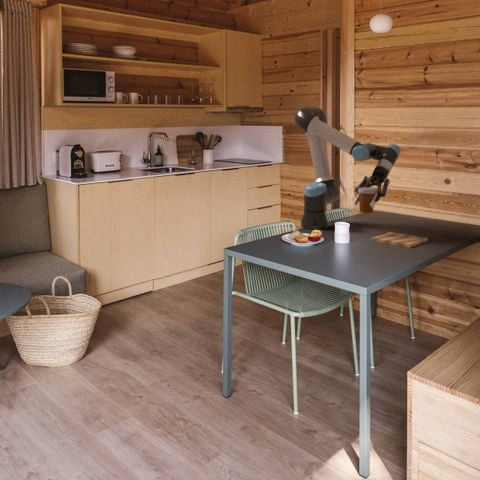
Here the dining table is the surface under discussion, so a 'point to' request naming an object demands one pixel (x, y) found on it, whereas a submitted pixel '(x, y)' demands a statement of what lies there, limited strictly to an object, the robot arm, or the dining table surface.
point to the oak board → (399, 239)
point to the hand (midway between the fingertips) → (363, 205)
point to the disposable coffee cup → (366, 199)
